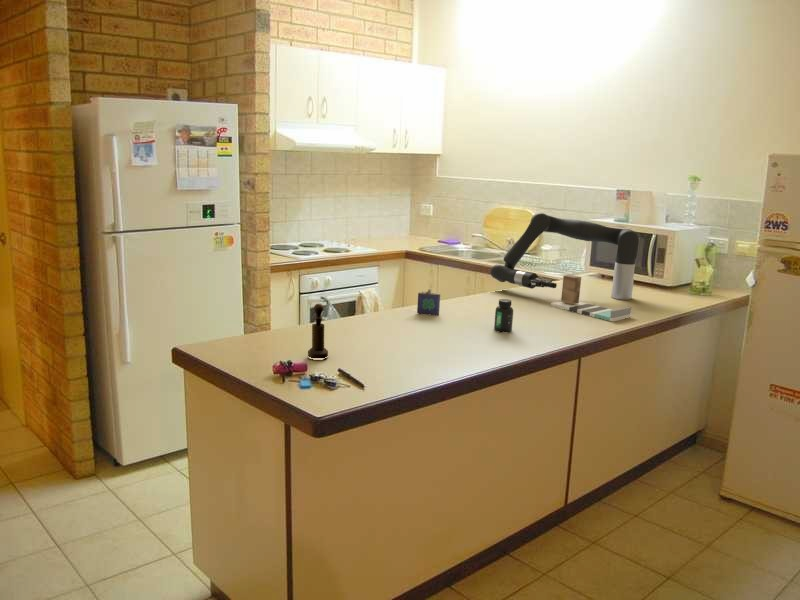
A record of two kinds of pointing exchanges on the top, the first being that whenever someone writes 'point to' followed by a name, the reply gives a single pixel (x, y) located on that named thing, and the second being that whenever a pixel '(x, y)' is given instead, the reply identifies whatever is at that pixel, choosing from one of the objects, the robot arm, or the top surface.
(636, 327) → the top surface
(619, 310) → the track
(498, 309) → the supplement bottle
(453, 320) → the top surface
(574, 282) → the slider block
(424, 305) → the flask
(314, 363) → the top surface
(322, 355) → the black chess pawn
